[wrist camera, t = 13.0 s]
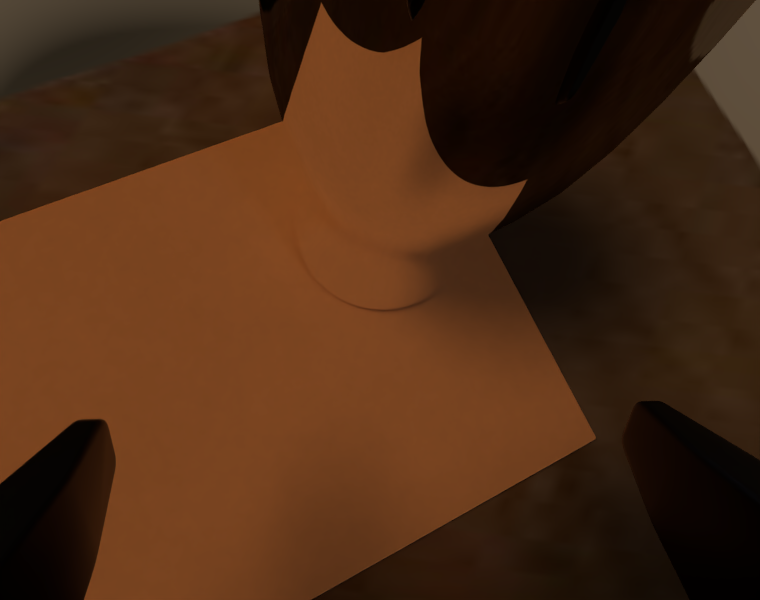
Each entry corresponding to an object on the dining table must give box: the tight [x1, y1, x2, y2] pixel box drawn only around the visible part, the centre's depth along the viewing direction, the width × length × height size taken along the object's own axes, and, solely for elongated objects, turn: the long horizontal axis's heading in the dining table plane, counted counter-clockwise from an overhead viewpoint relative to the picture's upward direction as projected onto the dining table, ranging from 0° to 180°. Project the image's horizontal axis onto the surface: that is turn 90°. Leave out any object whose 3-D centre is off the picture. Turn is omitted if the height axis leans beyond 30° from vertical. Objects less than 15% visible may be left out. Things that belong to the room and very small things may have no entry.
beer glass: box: [259, 0, 756, 310], centre depth 13 cm, size 7×7×15 cm
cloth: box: [0, 122, 596, 600], centre depth 18 cm, size 20×15×1 cm
